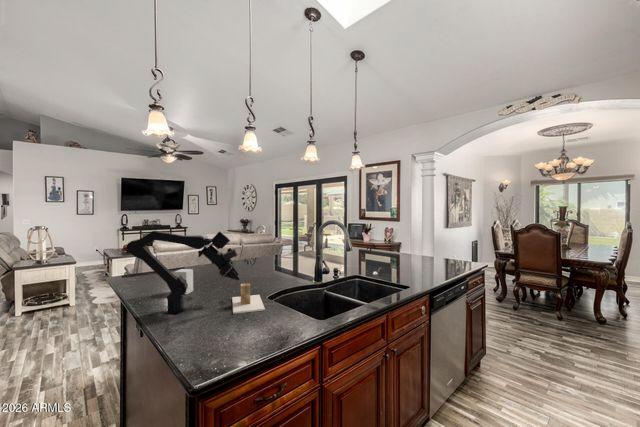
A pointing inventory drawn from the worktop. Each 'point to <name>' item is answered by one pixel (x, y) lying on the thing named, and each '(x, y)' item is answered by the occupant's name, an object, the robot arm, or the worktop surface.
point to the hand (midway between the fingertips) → (238, 277)
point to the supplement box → (186, 278)
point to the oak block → (245, 293)
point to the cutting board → (253, 306)
